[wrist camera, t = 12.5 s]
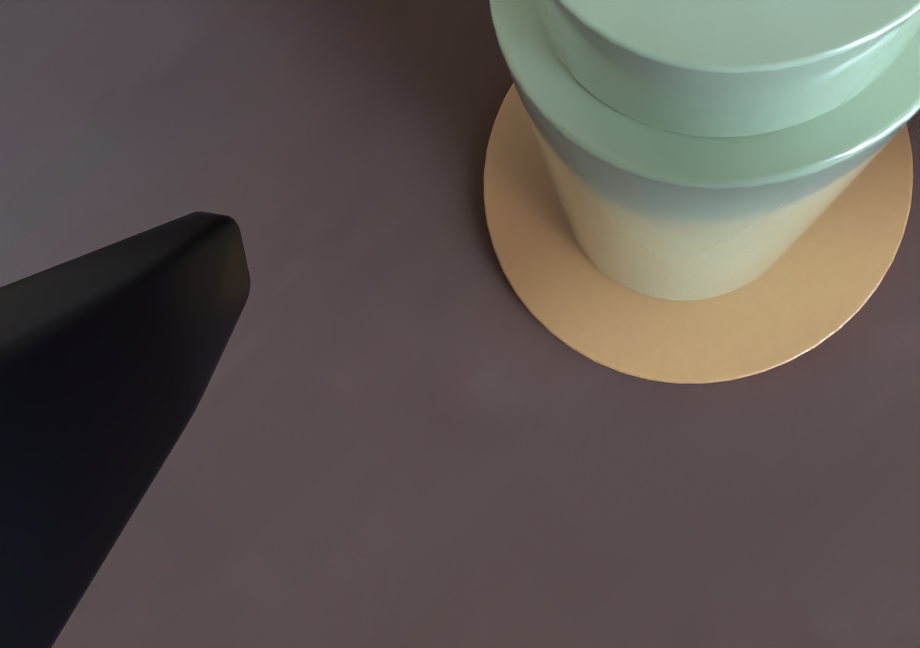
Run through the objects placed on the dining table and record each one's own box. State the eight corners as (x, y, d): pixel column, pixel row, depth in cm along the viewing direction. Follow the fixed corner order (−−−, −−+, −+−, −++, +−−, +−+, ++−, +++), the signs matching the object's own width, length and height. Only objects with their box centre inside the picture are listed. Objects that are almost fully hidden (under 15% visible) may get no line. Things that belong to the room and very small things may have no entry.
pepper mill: (863, 207, 17) (1435, -304, 5) (651, 348, 18) (677, 216, 5) (713, 19, 18) (867, -796, 6) (517, 159, 19) (285, -313, 7)
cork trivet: (1001, 226, 17) (1012, 220, 17) (631, 463, 18) (632, 465, 18) (737, -92, 19) (740, -105, 18) (414, 143, 20) (409, 136, 19)
